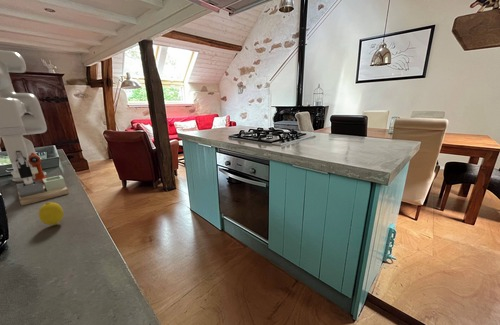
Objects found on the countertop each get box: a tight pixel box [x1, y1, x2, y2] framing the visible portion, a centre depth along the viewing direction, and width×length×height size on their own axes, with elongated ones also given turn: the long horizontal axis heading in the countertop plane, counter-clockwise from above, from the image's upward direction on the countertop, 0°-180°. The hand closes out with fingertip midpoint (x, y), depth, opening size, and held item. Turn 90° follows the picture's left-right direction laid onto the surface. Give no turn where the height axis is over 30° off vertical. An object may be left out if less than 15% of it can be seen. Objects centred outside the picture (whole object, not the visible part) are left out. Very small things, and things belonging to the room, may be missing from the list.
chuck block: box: [16, 179, 45, 198], centre depth 87 cm, size 7×7×4 cm
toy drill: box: [28, 153, 48, 185], centre depth 100 cm, size 5×19×15 cm, turn 46°
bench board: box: [17, 185, 70, 206], centre depth 90 cm, size 14×14×2 cm
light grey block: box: [11, 167, 38, 186], centre depth 86 cm, size 7×3×10 cm, turn 139°
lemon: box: [38, 201, 65, 226], centre depth 67 cm, size 6×6×8 cm
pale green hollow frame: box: [42, 174, 67, 191], centre depth 92 cm, size 6×6×4 cm
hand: (26, 174), depth 85 cm, fingers open, 9 cm apart
